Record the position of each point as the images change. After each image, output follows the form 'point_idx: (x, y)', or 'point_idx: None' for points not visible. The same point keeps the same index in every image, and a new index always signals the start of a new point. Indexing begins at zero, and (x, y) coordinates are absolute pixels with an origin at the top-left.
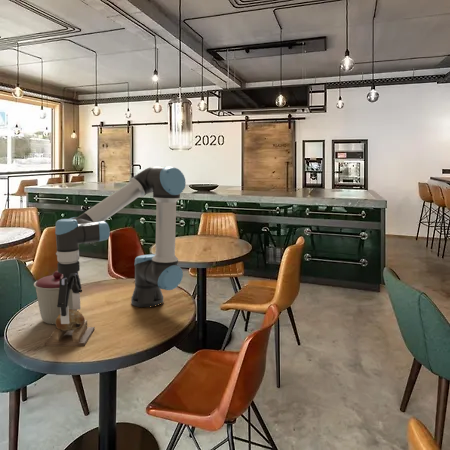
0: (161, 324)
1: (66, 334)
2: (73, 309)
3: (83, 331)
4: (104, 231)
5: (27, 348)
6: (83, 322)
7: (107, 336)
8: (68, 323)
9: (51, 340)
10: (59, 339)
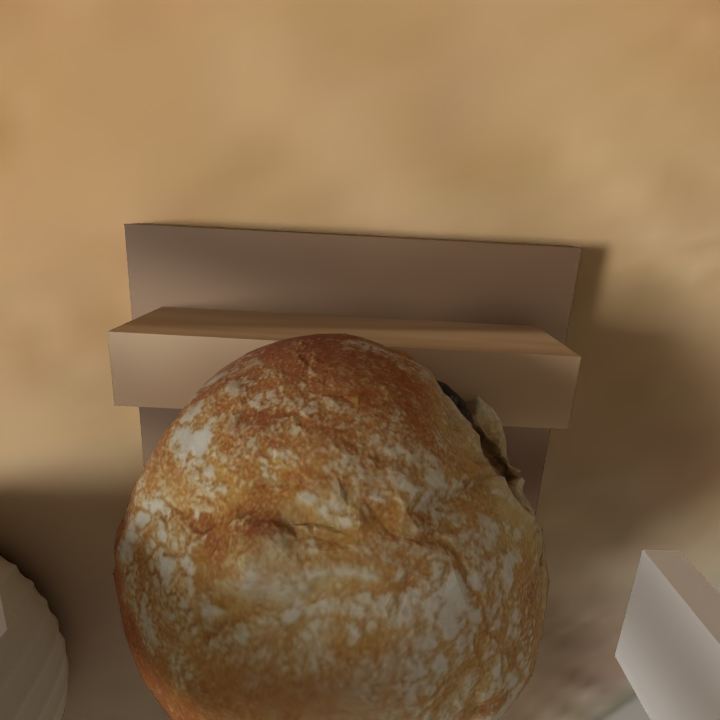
0: None
1: None
2: (5, 623)
3: (325, 321)
4: None
5: (536, 699)
6: (371, 343)
7: (343, 3)
8: (684, 560)
9: None
10: None
